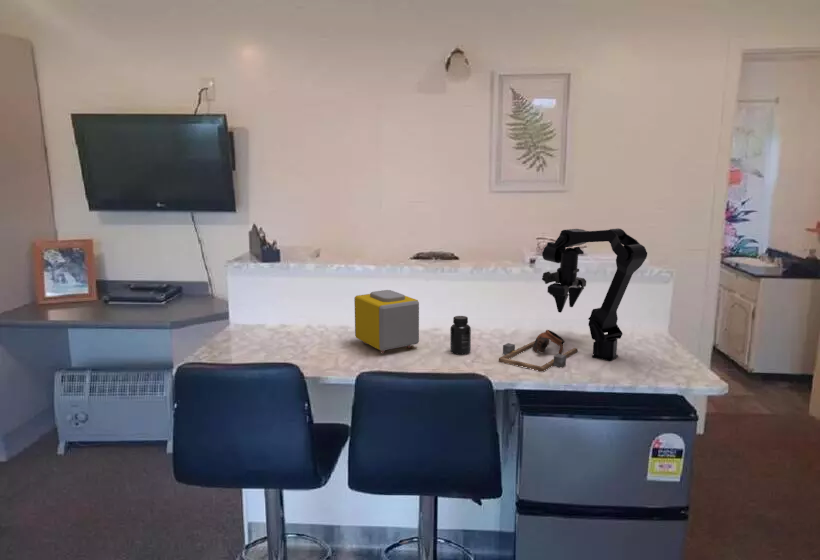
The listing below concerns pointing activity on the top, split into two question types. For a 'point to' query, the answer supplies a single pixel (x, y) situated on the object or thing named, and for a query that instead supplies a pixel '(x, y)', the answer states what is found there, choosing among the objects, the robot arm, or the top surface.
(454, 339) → the supplement bottle
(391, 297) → the alarm clock
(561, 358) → the wooden u-shaped frame
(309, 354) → the top surface
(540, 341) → the brown broken pot
